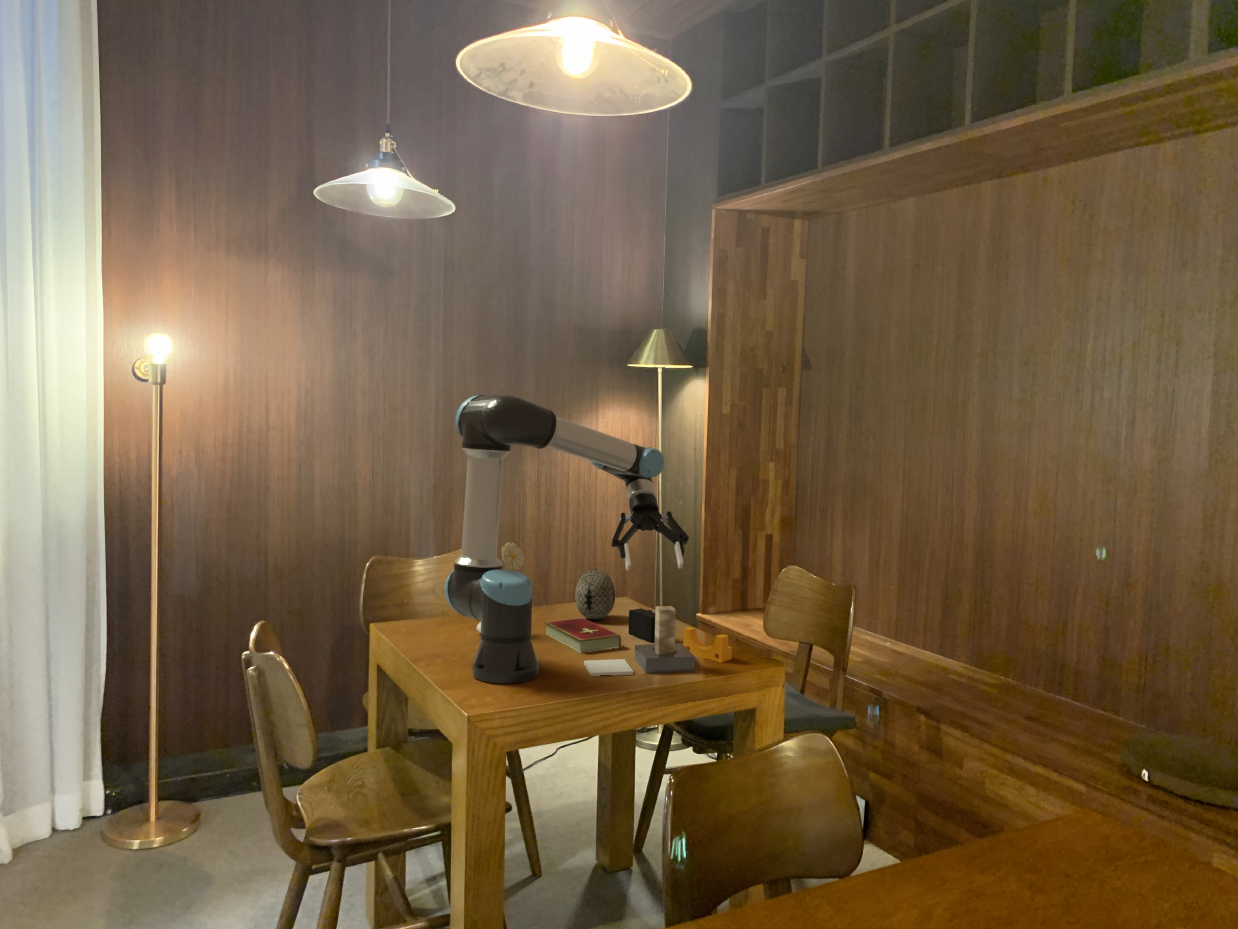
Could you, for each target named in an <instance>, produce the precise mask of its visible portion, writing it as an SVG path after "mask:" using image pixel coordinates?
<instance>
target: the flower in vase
mask: <svg viewBox="0 0 1238 929" xmlns="http://www.w3.org/2000/svg"><path fill="white" fill-rule="evenodd" d="M518 547H519V546H518V545H517V543H516V544H515V543H514V542H511V543H510V541H509V542H508V541H507V543H505V545H504V546H502V547H501V556H502V558H501V560H502V561H503V562H504V564H505V568H504V570H510V571H518V570H519V569H520V567H521V568H522V567H523V565H524V564H525V562H524V561H525V560H526V558H525V557H524V553H523V552H522V549H521V548H518ZM507 568H509V569H507ZM476 632H478V633H479V634H481V622H480V621H479V622H478V624H477V625H476Z"/></svg>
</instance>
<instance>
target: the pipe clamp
mask: <svg viewBox="0 0 1238 929" xmlns="http://www.w3.org/2000/svg"><path fill="white" fill-rule="evenodd" d="M698 637H699V636H698V634H697V628H696V627H692V626H688V627H684V628H683V640H682V641H683V642H682V644H683V645H684V646H685V647H686V648H687V649H688V650H689V651H690V652H691V653H692V654H693V655H696V656H695V657H698V656H700V657H699V658H702V657H703V658H702V659H706V658H708V659H707V660H709V659H711V660H710V661H713V660H715V661H714V662H717V663H721V662H722V663H724V662H727V661H730V660H732V658H733V656H732V655H733V647H732V646H729V635H728V634H718V635H715V640H714V642H713V645H707V646H706V645H705V644H704V643H702V642H701V640H700V639H699V638H698Z"/></svg>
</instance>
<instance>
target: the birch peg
mask: <svg viewBox="0 0 1238 929" xmlns="http://www.w3.org/2000/svg"><path fill="white" fill-rule="evenodd" d="M654 610H655V612H654V613H655V643H654V644H655V653H656V654H672V653H675V644H676V616H677V615H676V614H677V611H676V610H677V609H675V607H673V606H672V605H666V606H665V605H662V606H658V605H657V606H655V609H654Z"/></svg>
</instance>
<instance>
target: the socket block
mask: <svg viewBox="0 0 1238 929" xmlns="http://www.w3.org/2000/svg"><path fill="white" fill-rule="evenodd" d="M634 660H635V662H637V664H638V665H639V666H640V668H641V669H642V670H643V672H645V674H658V673H659V674H660V673H662V674H663V673H682V672H684V673H685V672H696V656H694V655H693V654H692V653H691V652H690V651H689V650H688V649H687V648H686V647H685V646H684V645H683V642H682V643H676V642H675V653H672V654H656V653H655V643H649V644H634Z"/></svg>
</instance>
